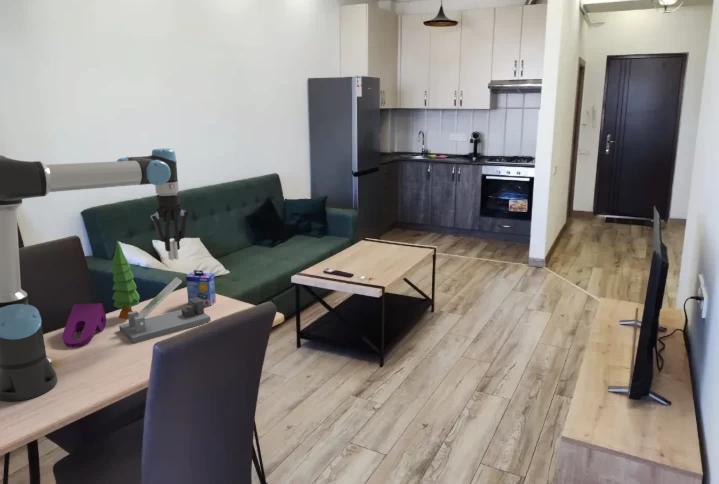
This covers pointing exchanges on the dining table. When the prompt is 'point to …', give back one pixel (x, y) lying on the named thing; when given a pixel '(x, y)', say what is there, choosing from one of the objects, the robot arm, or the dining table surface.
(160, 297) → the grey long flat bar
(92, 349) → the dining table surface
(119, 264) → the decorative tree
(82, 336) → the mounting bracket
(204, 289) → the ink cartridge box
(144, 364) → the dining table surface
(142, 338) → the latch base
